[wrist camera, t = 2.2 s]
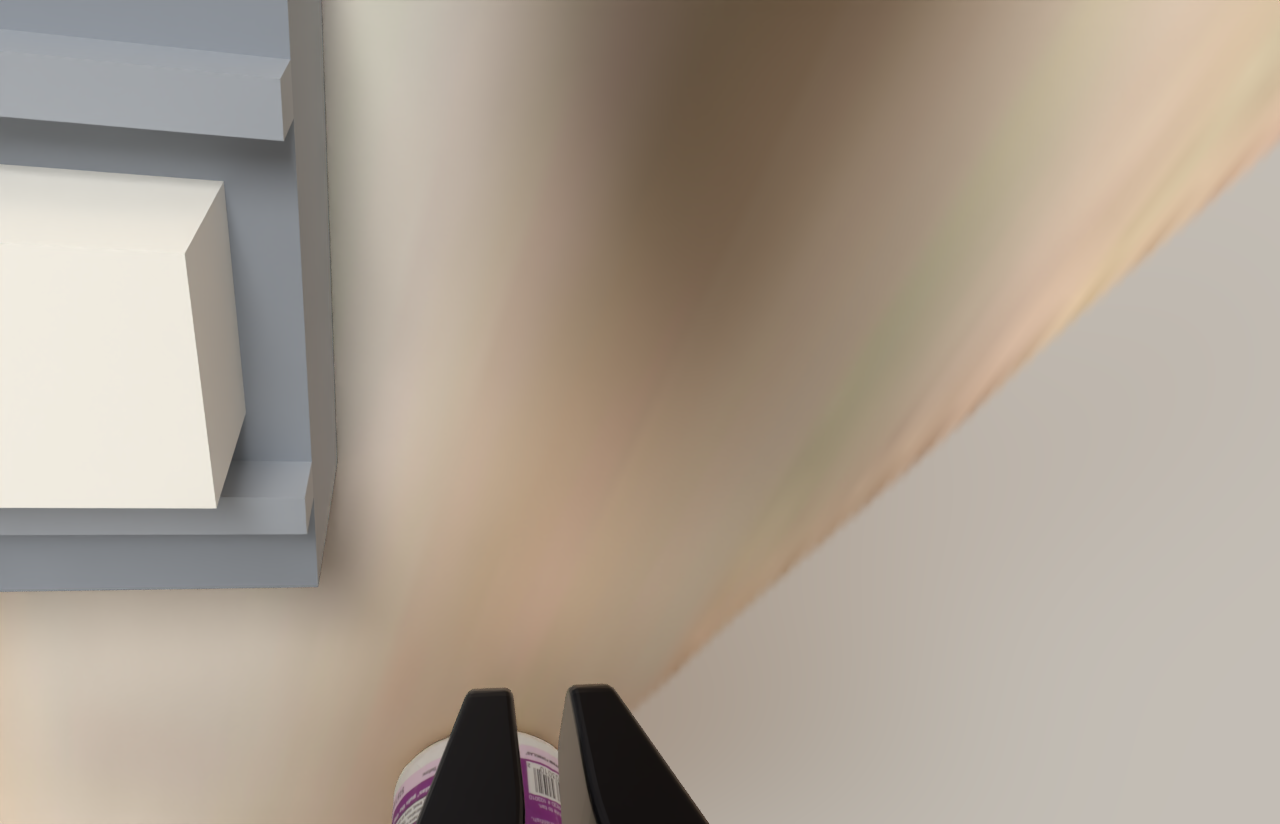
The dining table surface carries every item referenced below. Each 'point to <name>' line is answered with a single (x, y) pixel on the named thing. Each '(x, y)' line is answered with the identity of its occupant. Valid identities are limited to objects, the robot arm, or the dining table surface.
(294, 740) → the dining table surface
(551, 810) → the pill bottle
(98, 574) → the bench board
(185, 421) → the tile
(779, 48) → the dining table surface
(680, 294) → the dining table surface
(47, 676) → the dining table surface
